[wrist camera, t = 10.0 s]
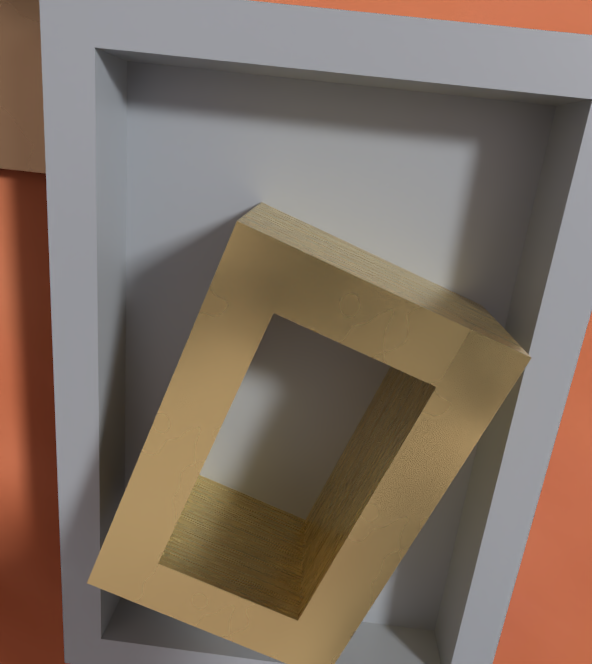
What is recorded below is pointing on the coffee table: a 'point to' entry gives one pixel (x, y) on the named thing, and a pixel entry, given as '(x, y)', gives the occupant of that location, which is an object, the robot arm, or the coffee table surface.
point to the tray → (329, 216)
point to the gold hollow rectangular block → (351, 469)
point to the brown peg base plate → (21, 87)
